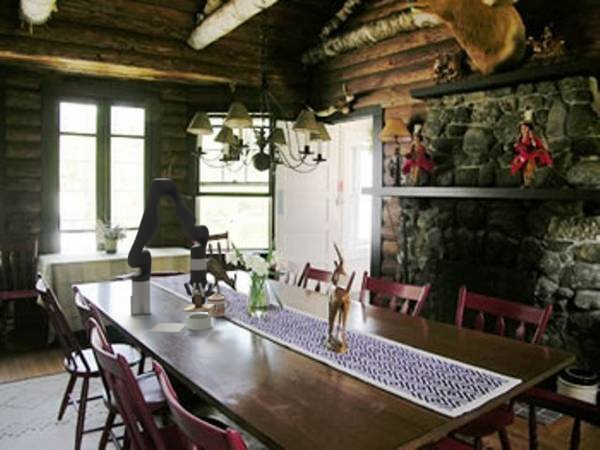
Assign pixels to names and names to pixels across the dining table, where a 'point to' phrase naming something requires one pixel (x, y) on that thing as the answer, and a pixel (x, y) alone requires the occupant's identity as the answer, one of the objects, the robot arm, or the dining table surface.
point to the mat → (168, 327)
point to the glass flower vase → (265, 295)
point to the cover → (198, 305)
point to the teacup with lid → (217, 305)
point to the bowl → (198, 321)
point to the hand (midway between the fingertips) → (198, 304)
